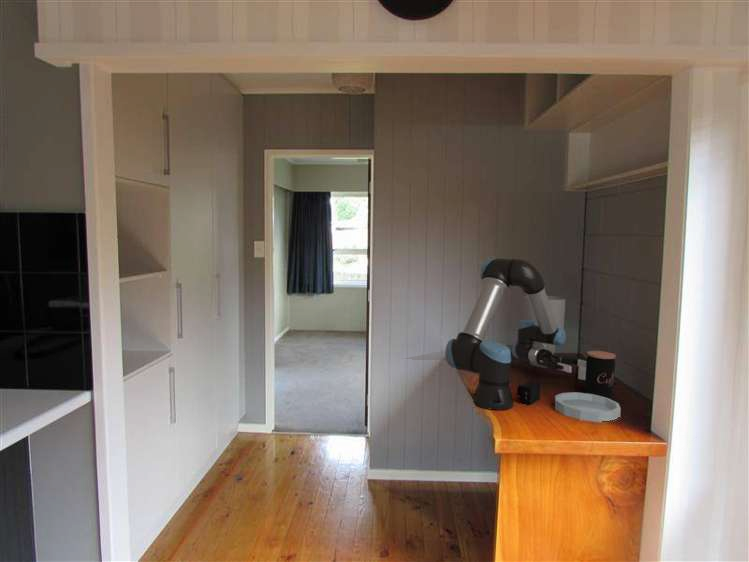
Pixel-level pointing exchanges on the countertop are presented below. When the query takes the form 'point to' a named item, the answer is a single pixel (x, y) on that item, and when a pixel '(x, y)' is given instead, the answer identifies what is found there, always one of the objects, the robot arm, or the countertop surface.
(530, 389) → the digital camera
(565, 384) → the countertop surface
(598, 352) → the coffee jar
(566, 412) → the bowl
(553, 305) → the lamp
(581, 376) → the skincare box
